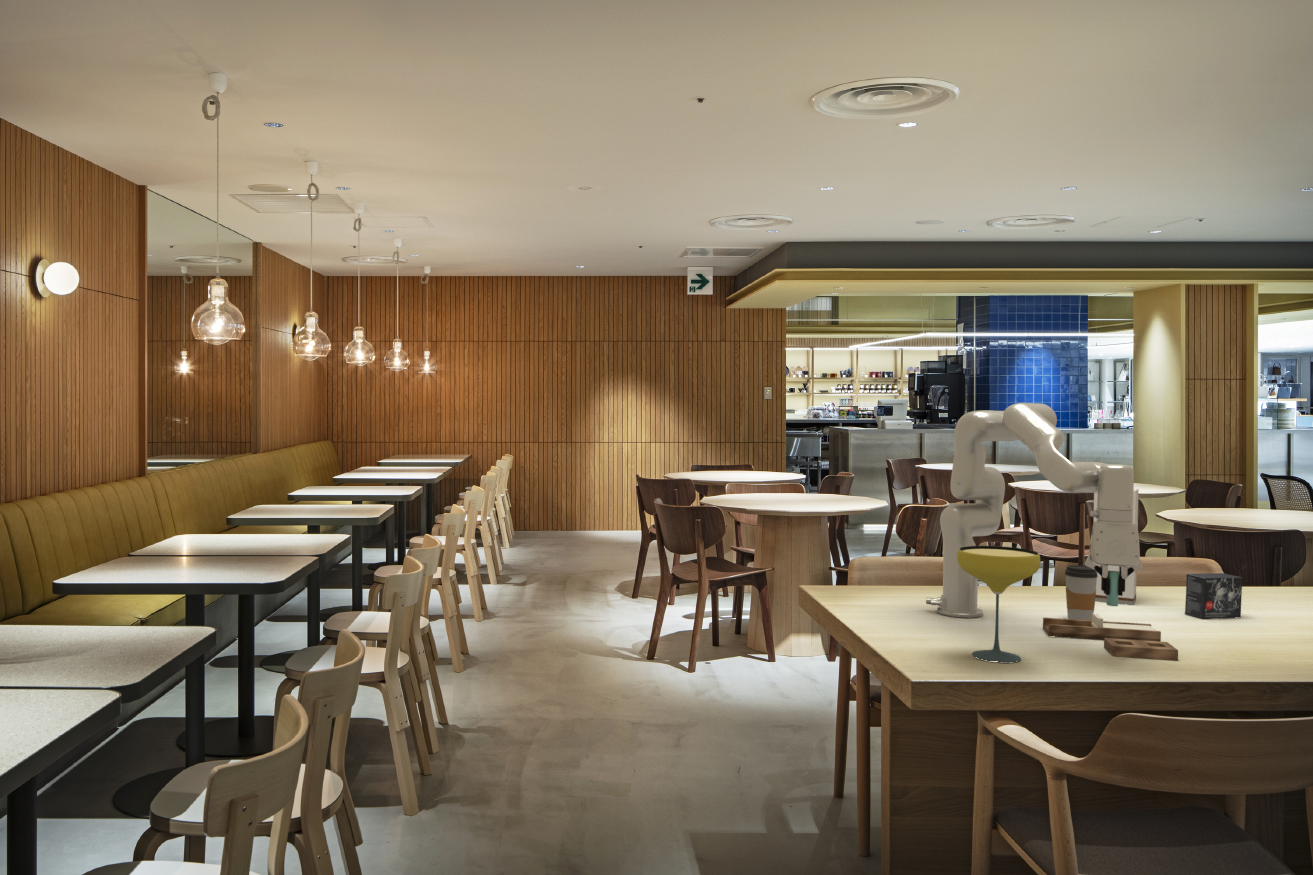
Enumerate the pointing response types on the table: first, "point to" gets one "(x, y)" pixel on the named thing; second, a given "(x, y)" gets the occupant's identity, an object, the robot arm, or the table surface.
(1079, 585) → the coffee cup
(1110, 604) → the pin
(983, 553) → the cocktail glass
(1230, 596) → the small box
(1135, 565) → the robot arm
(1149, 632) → the board
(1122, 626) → the lid
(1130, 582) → the mini fridge
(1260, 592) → the table surface
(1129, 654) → the pin board
